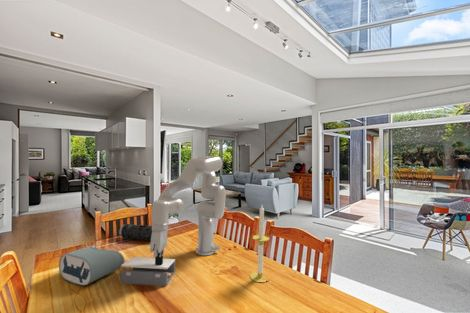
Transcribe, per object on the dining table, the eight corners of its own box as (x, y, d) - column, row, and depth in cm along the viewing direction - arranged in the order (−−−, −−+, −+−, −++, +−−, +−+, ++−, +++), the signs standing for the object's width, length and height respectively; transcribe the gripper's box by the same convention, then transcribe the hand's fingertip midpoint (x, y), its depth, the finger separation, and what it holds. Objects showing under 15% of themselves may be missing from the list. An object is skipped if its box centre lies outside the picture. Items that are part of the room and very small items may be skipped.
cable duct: (174, 272, 118) (175, 260, 117) (165, 287, 105) (166, 274, 105) (133, 269, 119) (133, 258, 119) (119, 284, 106) (120, 271, 106)
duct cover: (175, 260, 117) (175, 259, 118) (166, 269, 106) (166, 267, 106) (133, 258, 119) (134, 256, 119) (121, 266, 107) (121, 264, 107)
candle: (254, 284, 109) (256, 206, 108) (247, 273, 118) (249, 202, 117) (273, 281, 111) (275, 205, 110) (265, 271, 121) (267, 201, 120)
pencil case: (58, 278, 109) (59, 251, 109) (95, 262, 127) (96, 239, 127) (89, 290, 101) (91, 261, 101) (124, 271, 119) (125, 246, 119)
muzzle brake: (157, 244, 152) (157, 228, 152) (118, 241, 156) (118, 226, 156) (163, 238, 162) (163, 224, 161) (126, 235, 165) (126, 221, 165)
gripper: (158, 221, 117) (157, 256, 117) (145, 231, 102) (144, 271, 102) (172, 222, 116) (171, 257, 116) (161, 232, 101) (160, 272, 101)
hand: (158, 264), depth 109 cm, fingers closed
